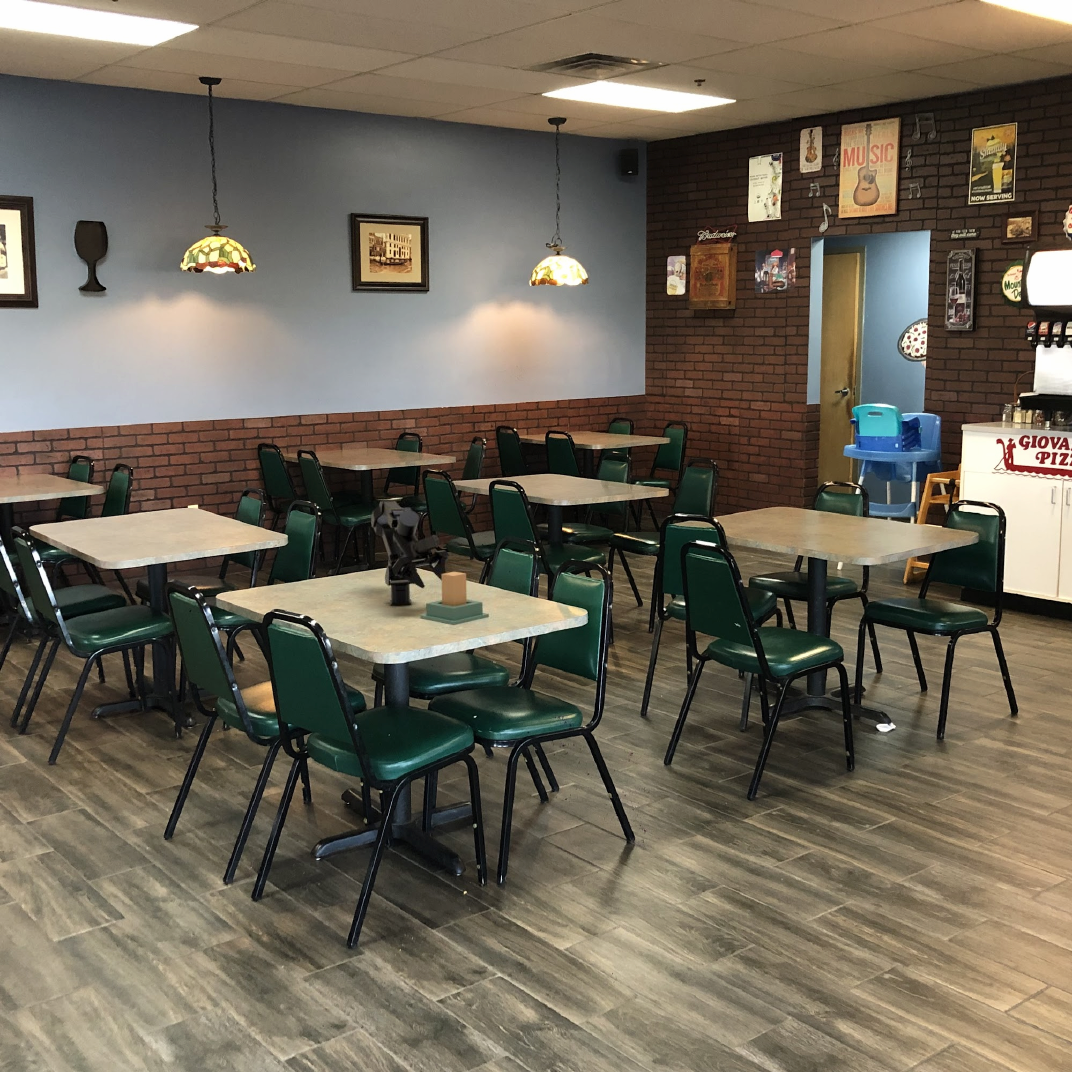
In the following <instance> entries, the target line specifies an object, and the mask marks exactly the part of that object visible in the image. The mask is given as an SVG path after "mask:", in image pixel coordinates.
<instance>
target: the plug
mask: <svg viewBox="0 0 1072 1072" xmlns="http://www.w3.org/2000/svg"><path fill="white" fill-rule="evenodd" d="M441 575H442V581H441V600H442V604H443V605H448V606H459V605H463V604H467V600H468V599H467V573H465V572H464V573H463V572H459V571H451V572H446V573H445V574H441Z"/></svg>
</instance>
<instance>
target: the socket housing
mask: <svg viewBox="0 0 1072 1072" xmlns="http://www.w3.org/2000/svg"><path fill="white" fill-rule="evenodd" d="M425 605H426V607H425V612H426V613H425V614H420V615H419V618H420V619H424V620H427V621H432V622H438V623H442V624H443V623H444V624H448V625H453V626H454V625H459V624H463V623H468V622H472V621H477V620H480V619H484V618H489V617H490V614H489V613H487V612H486V613H485V612H484V611H483V602H482V601H479V600H478V601H477V600H472V599H467V604H463V605H459V606H448V605H443V604H442V599H441V600H436V601H431V602H426V604H425Z"/></svg>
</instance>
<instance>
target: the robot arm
mask: <svg viewBox="0 0 1072 1072" xmlns="http://www.w3.org/2000/svg"><path fill="white" fill-rule="evenodd" d="M370 521H371V527H372V528H373V530H374V533H375V534H376V535H378V536H380V537H382V539H383V543H384V547H385V549H386V553H387V556H388V562H387V563H388V564H387V565H386V570H385V573H384V574H385V575H384V581H385V585H387V586H388V587H390V598H391V599H390V600H389V605H390V606H411V605H412V599H411V594H410V593H411V591H410V587H411V586H410V585H415V586H418V587H419V588H421V589H424V588H425V583H424V581H423V580H422V577H420V575H419V572H418V569H417V567H418V568H419V567H421V566H423V567H424V566H427V565H428V567H429V568H430V569H431V572H432V573H433V574H434V575H435V576H436V577H437V578H438V579H439V580H441V582H442V575H441V574H445V573H447V572H446V563H447V561H448V559H449V558H450V554H449V552H448V551H447V550H437V551H434V553H433V554H432V555H431V553H432V550H433V549H437V548H438V546H439V545H440V544H441V541H440V538H439V537H438V536H437V535H436V534H433V535H431V536H428V537H425V538H422V539H419V540H418V538H417V536H416V532H417V531H416V530H417V528H418V525H419V521H420V516H419V514H417V513H416V512H415V511H413V510H412V508H411V507H401V506H400V505H399V504H398V503H397V500H394V499H388V500H387V499H386V500H381V501H380V502H379V504H378V506H377V507H376V508H375V509H373V511H372V513H371V518H370ZM429 555H431V557H430V556H429Z"/></svg>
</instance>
